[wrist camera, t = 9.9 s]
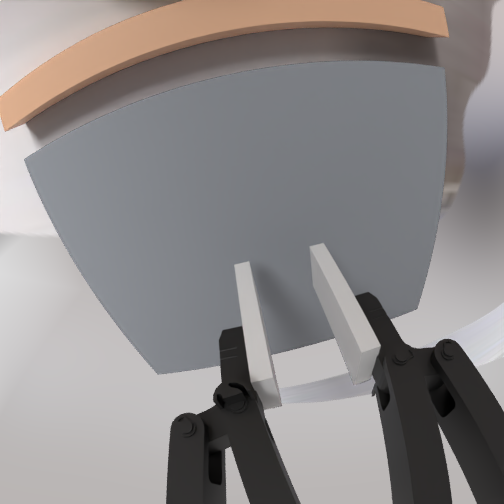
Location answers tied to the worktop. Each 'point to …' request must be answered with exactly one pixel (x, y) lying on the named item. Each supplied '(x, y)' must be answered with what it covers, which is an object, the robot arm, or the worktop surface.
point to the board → (252, 200)
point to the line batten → (201, 39)
